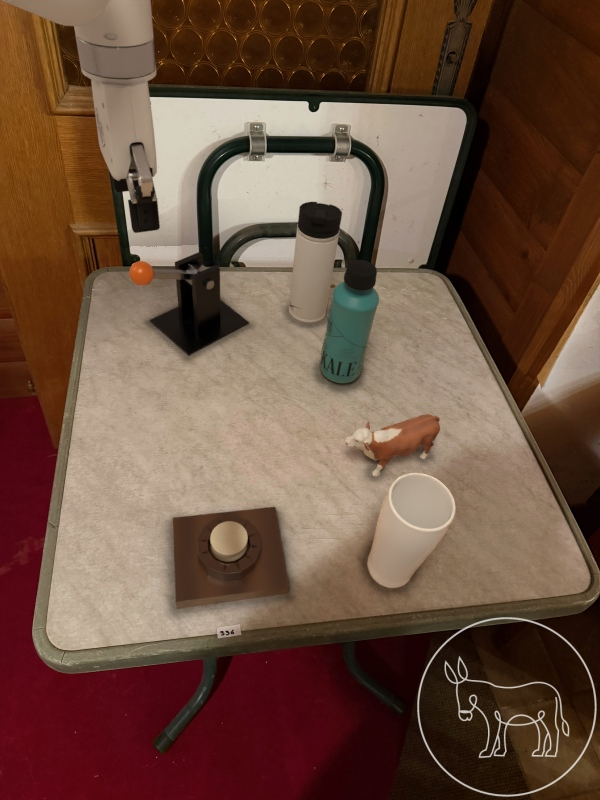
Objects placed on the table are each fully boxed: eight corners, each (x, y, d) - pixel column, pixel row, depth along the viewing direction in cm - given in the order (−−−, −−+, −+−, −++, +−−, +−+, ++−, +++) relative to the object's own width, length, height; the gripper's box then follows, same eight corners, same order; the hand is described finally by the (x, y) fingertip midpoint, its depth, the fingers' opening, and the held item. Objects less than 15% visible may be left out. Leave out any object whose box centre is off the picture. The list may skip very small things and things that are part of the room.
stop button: (212, 564, 60) (211, 557, 58) (209, 530, 62) (208, 523, 61) (249, 559, 60) (249, 552, 59) (245, 526, 63) (245, 519, 62)
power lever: (135, 290, 73) (141, 267, 72) (121, 278, 75) (127, 256, 73) (208, 290, 84) (215, 270, 82) (194, 279, 85) (201, 260, 83)
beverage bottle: (350, 358, 88) (375, 249, 74) (366, 388, 84) (396, 279, 69) (311, 364, 87) (329, 253, 72) (325, 395, 83) (347, 285, 68)
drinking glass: (350, 552, 66) (375, 482, 55) (399, 534, 68) (432, 463, 57) (377, 605, 62) (410, 541, 51) (428, 584, 64) (470, 518, 53)
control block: (177, 610, 60) (174, 595, 57) (173, 526, 66) (171, 509, 63) (287, 595, 62) (290, 579, 59) (274, 515, 68) (276, 498, 65)
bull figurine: (335, 461, 75) (344, 422, 69) (421, 438, 79) (437, 399, 73) (348, 487, 72) (359, 450, 66) (437, 462, 76) (455, 424, 70)
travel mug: (284, 325, 92) (295, 214, 77) (291, 300, 96) (303, 192, 82) (321, 332, 92) (340, 222, 77) (327, 307, 96) (345, 199, 81)
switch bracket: (188, 360, 85) (184, 298, 76) (150, 325, 89) (141, 262, 80) (248, 327, 91) (251, 266, 82) (210, 297, 95) (208, 235, 86)
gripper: (65, 28, 61) (92, 179, 74) (95, 90, 51) (120, 252, 63) (135, 28, 63) (149, 173, 76) (176, 86, 53) (185, 243, 66)
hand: (136, 209), depth 70 cm, fingers open, 9 cm apart
